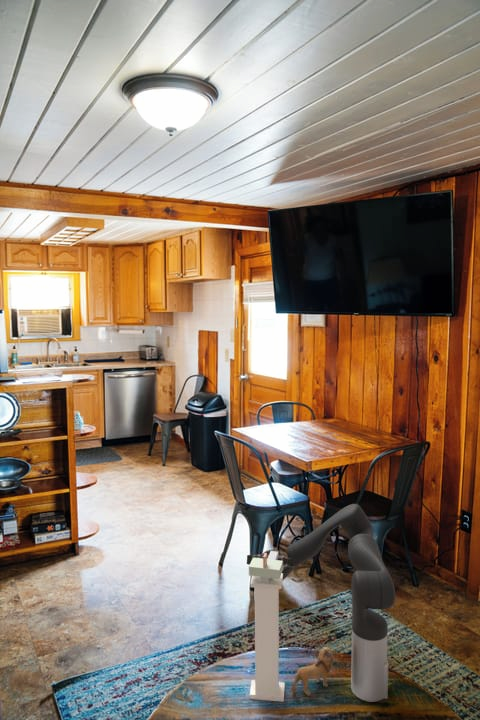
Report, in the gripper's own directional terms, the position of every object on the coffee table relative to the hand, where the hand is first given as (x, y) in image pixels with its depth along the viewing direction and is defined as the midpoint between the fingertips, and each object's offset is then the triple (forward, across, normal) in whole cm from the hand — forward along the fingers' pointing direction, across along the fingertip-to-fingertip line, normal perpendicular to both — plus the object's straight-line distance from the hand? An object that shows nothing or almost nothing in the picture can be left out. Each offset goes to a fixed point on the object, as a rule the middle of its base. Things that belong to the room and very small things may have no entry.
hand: (269, 559), depth 159 cm
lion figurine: (-4, -13, -32) cm, 34 cm away
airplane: (+12, -1, -3) cm, 13 cm away
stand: (0, -1, -34) cm, 34 cm away
